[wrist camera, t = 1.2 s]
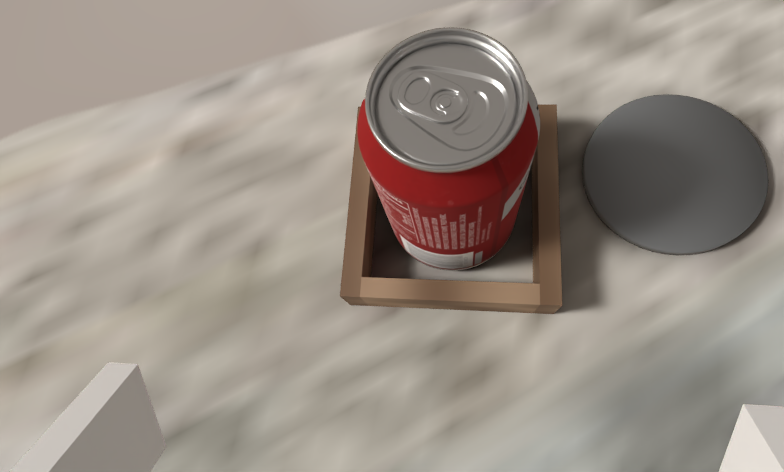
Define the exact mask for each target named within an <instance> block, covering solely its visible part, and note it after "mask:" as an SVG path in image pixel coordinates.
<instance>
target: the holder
mask: <svg viewBox="0 0 784 472" xmlns="http://www.w3.org/2000/svg"><path fill="white" fill-rule="evenodd" d="M360 108H361V107H358V114H357V124H358V116H359V112H360ZM538 108H539V114H540V133H539V139H538V143H537V147H536V150H535V154H534V157H533V161H532V242H533V283H507V282H480V281H453V280H426V279H399V278H372V277H371V269H372V257H373V244H374V232H375V219H376V207H377V194H378V193H377V191H376V188H375V186H374V184H373V181H372V179H371V176H370V174H369V172H368V169H367V167H366V164H365V162H364V160H363V157H362V154H361V151H360V147H359V143H358V135H357V125H356V135H355V145H354V156H353V166H352V177H351V187H350V197H349V208H348V218H347V228H346V239H345V249H344V260H343V270H342V280H341V291H340V297H342V298H343V299H344V300H345V301H346V302H348V303H349V304H350V305H365V306H387V307H409V308H432V309H454V310H476V311H498V312H520V313H543V314H554V313H555V312H556V311H557V310H558V309H559V308H560V307H561V306H562V281H561V246H560V210H559V174H558V139H557V105H538Z"/></svg>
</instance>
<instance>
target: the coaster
mask: <svg viewBox="0 0 784 472" xmlns="http://www.w3.org/2000/svg"><path fill="white" fill-rule="evenodd" d="M582 176H583V184H584V188H585V191H586V194H587V197H588V199H589V202H590V204H591V205H592V207H593V209H594V210H595V212H596V214H597V215H598V216H599V217H600V219H601V220H602V221H603V222H604V223H605V224H606V225H607V226H608V227H609V228H610V229H611V230H612V231H613V232H615V233H616V234H617V235H619V236H620V237H622V238H623V239H625V240H626V241H628V242H630V243H632V244H634V245H636V246H638V247H640V248H643V249H646V250H649V251H652V252H657V253H662V254H669V255H692V254H698V253H703V252H707V251H710V250H713V249H716V248H718V247H720V246H723V245H725V244H726V243H728V242H730V241H731V240H733V239H734V238H736V237H738V236H739V235H740V234H742V233H743V232H744V231H745V230H746V229H748V228H749V226H750V225H751V224H752V223H753V222H754V221H755V219H756V218H757V216H758V215H759V213H760V211H761V209H762V207H763V205H764V202H765V199H766V195H767V190H768V171H767V166H766V162H765V158H764V156H763V153H762V151H761V149H760V147H759V145H758V143H757V141H756V140H755V138H754V137H753V136H752V134H751V133H750V132H749V130H748V129H747V128H746V127H745V126H744V125H743V124H742V123H741V122H740V121H738V120H737V119H736V118H735V117H734V116H732V115H731V114H729V113H728V112H726V111H725V110H723V109H721V108H719V107H717V106H715V105H713V104H711V103H709V102H706V101H703V100H700V99H697V98H693V97H688V96H681V95H654V96H648V97H644V98H640V99H637V100H634V101H631V102H629V103H627V104H624V105H623V106H621V107H619V108H618V109H616V110H615V111H613V112H612V113H611V114H609V115H608V116H607V117H606V118H605V119H604V120H603V121H602V122H601V123H600V124H599V126H598V127H597V129H596V130H595V131H594V133H593V135H592V137H591V139H590V141H589V143H588V145H587V148H586V151H585V154H584V159H583V166H582Z"/></svg>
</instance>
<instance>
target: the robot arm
mask: <svg viewBox="0 0 784 472" xmlns="http://www.w3.org/2000/svg"><path fill="white" fill-rule="evenodd" d="M165 448H166V444H165V441H164V438H163V435H162V432H161V429H160V426H159V423H158V421H157V418H156V415H155V412H154V409H153V406H152V403H151V400H150V398H149V395H148V392H147V389H146V386H145V383H144V380H143V377H142V375H141V372H140V369H139V366H138V364H127V363H112V362H108V363H107V364H106V365H105V366H104V367H103V369H102V370H101V371H100V372H99V373H98V374H97V375H96V376H95V377H94V378H93V380H92V381H91V382H90V383H89V384H88V385H87V386H86V387H85V388H84V389H83V391H82V392H81V393H80V394H79V395H78V396H77V397H76V398H75V399H74V400H73V402H72V403H71V404H70V405H69V406H68V407H67V408H66V409H65V410H64V412H63V413H62V414H61V415H60V416H59V417H58V418H57V419H56V420H55V421H54V423H53V424H52V425H51V426H50V427H49V428H48V429H47V430H46V431H45V432H44V434H43V435H42V436H41V437H40V438H39V439H38V440H37V441H36V442H35V444H34V445H33V446H32V447H31V448H30V449H29V450H28V451H27V452H26V453H25V455H24V456H23V457H22V458H21V459H20V460H19V461H18V462H17V463H16V464H15V466H14V467H13V468H12V469H11V470H10V471H9V472H150V471H151V470H152V468H153V467H154V465H155V463H156V462H157V460H158V459H159V457H160V456H161V454H162V452H163V451H164V449H165ZM719 472H784V407H782V406H767V405H752V404H743V406H742V409H741V412H740V414H739V417H738V420H737V423H736V425H735V428H734V431H733V434H732V436H731V439H730V442H729V445H728V447H727V450H726V453H725V456H724V458H723V461H722V464H721V467H720V469H719Z"/></svg>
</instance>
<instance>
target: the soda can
mask: <svg viewBox="0 0 784 472" xmlns="http://www.w3.org/2000/svg"><path fill="white" fill-rule="evenodd" d="M539 133H540V114H539V108H538V104H537V100H536V98H535V95H534V93H533V91H532V89H531V87H530V85H529V83H528V82H527V80H526V78H525V75H524V72H523V70H522V68H521V66H520V64H519V62H518V61H517V59H516V58H515V57H514V55H513V54H512V53H511V52H510V51H509V50H508V49H507V48H506V47H505V46H504V45H502V44H501V43H500V42H498V41H497V40H495V39H493V38H492V37H490V36H488V35H485V34H483V33H480V32H477V31H474V30H470V29H464V28H452V27H451V28H437V29H432V30H427V31H424V32H421V33H418V34H415V35H413V36H411V37H409V38H407V39H405V40H403V41H401V42H400V43H399V44H397V45H396V46H394V47H393V48H392V49H391V50H390V51H389V52H387V53H386V54H385V55H384V57H383V58H382V59H381V60H380V61H379V63H378V64H377V66H376V67H375V69H374V71H373V73H372V75H371V77H370V79H369V82H368V85H367V90H366V95H365V97H364V100H363V102H362V105H361V108H360V112H359V116H358V124H357V135H358V143H359V147H360V151H361V154H362V157H363V160H364V162H365V164H366V167H367V169H368V172H369V174H370V176H371V179H372V181H373V184H374V186H375V188H376V191H377V193H378V195H379V198H380V200H381V203H382V205H383V207H384V210H385V212H386V214H387V217H388V219H389V222H390V224H391V226H392V229H393V231H394V234H395V236H396V238H397V240H398V241H399V243H400V244H401V246H402V247H403V248H404V249H405V250H406V251H407V253H409V254H410V255H411V256H412V257H413V258H415V259H416V260H418V261H419V262H421V263H423V264H425V265H427V266H430V267H433V268H437V269H442V270H463V269H468V268H472V267H475V266H477V265H480V264H482V263H484V262H485V261H487V260H489V259H490V258H492V257H493V256H494V255H495V254H497V253H498V252H499V251H500V250H501V248H502V247H503V246H504V245H505V243H506V242H507V240H508V239H509V237H510V235H511V233H512V230H513V227H514V224H515V220H516V217H517V213H518V210H519V206H520V203H521V199H522V196H523V192H524V189H525V185H526V182H527V178H528V175H529V171H530V168H531V164H532V161H533V157H534V154H535V150H536V147H537V143H538V139H539Z"/></svg>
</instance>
